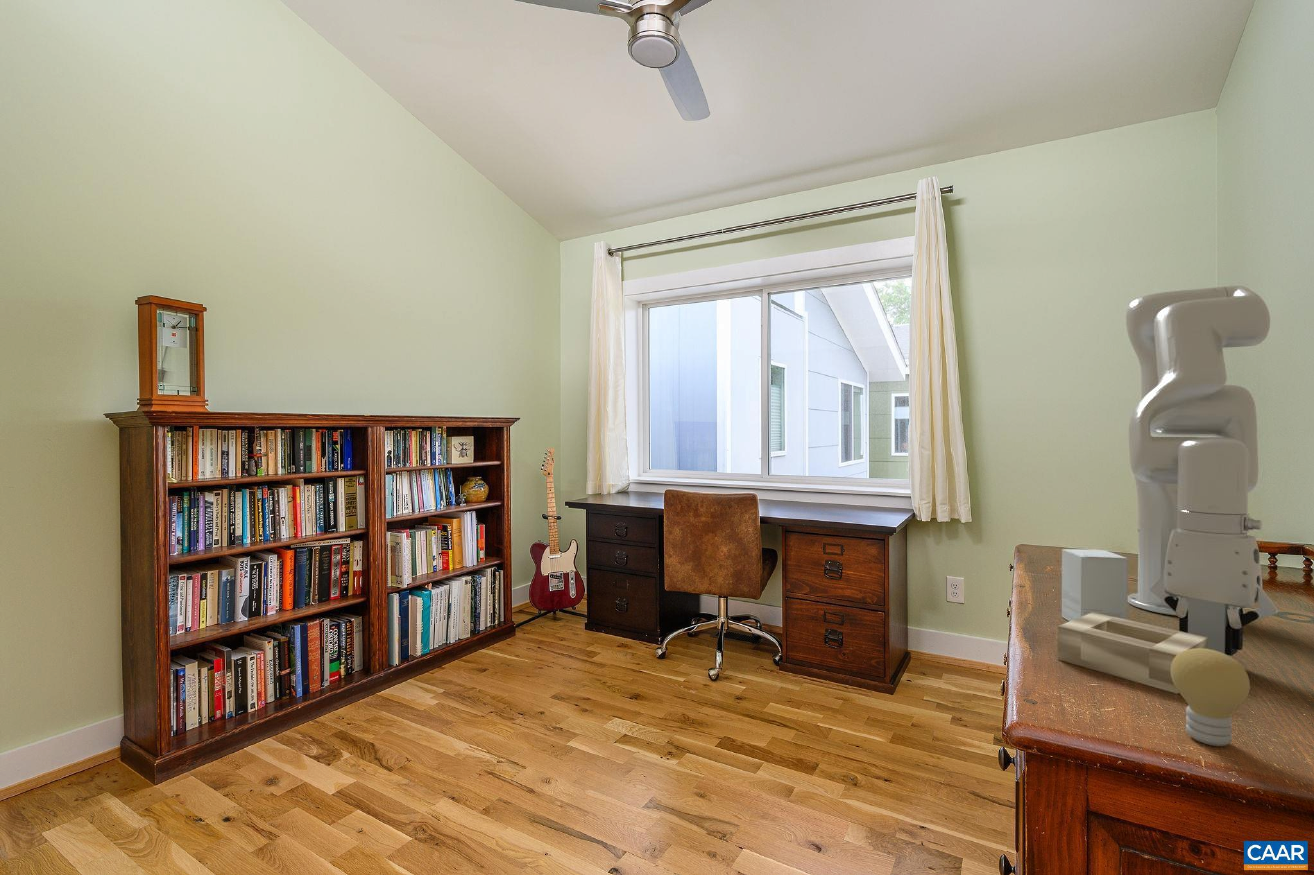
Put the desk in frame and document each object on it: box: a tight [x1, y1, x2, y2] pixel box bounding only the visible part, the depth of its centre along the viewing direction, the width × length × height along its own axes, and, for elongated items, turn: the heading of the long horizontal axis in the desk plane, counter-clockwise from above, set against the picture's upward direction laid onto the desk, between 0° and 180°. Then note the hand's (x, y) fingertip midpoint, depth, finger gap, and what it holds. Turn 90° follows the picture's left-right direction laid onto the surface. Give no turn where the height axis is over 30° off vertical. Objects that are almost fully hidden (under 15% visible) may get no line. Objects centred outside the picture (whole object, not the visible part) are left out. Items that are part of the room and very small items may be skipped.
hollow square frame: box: [1057, 612, 1208, 695], centre depth 87 cm, size 12×14×5 cm
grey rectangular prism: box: [1188, 597, 1234, 658], centre depth 88 cm, size 4×4×10 cm
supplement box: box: [1061, 548, 1129, 622], centre depth 106 cm, size 7×7×13 cm
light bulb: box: [1171, 648, 1251, 747], centre depth 66 cm, size 6×6×10 cm
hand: (1209, 647), depth 88 cm, fingers closed on grey rectangular prism, 4 cm apart
